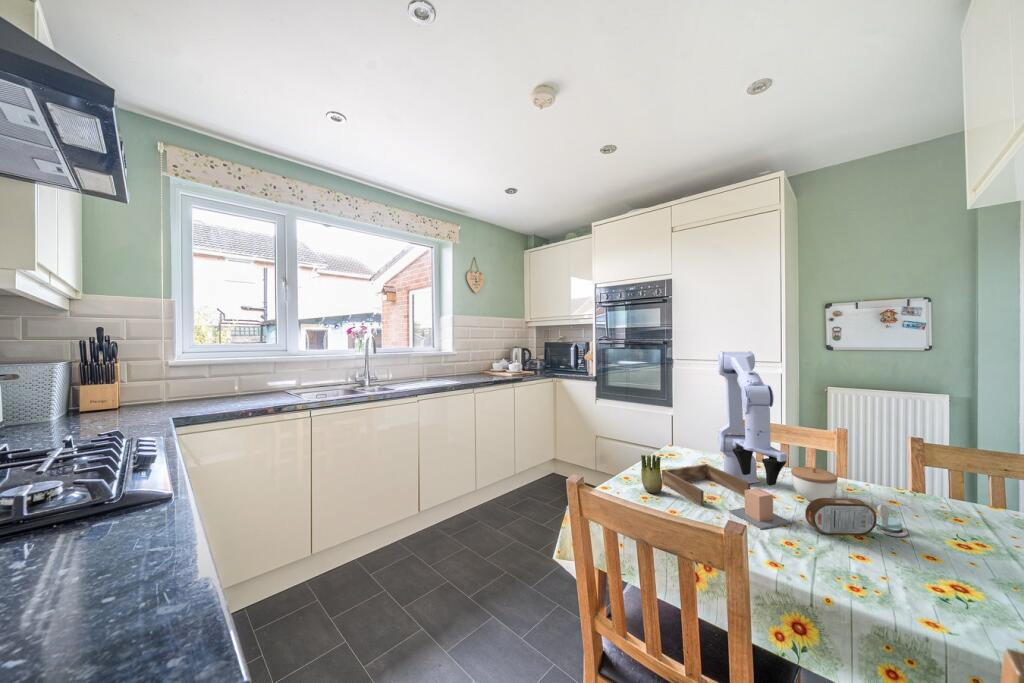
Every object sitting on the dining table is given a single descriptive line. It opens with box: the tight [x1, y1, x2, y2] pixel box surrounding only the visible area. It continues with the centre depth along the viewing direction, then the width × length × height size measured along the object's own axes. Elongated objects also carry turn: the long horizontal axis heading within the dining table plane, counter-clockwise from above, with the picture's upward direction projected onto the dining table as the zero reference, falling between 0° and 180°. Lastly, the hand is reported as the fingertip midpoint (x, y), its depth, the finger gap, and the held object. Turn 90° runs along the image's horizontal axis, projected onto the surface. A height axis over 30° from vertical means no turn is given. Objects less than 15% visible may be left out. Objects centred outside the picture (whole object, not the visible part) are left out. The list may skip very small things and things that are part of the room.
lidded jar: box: [790, 466, 838, 503], centre depth 110 cm, size 11×11×9 cm
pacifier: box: [875, 503, 909, 538], centre depth 92 cm, size 7×6×6 cm
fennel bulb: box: [640, 453, 663, 495], centre depth 118 cm, size 6×5×12 cm
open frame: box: [661, 463, 751, 507], centre depth 118 cm, size 18×18×4 cm
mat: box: [728, 507, 793, 530], centre depth 100 cm, size 10×10×1 cm
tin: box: [804, 497, 878, 536], centre depth 91 cm, size 15×3×8 cm, turn 84°
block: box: [744, 487, 774, 521], centre depth 100 cm, size 4×4×6 cm
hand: (758, 479), depth 100 cm, fingers open, 7 cm apart
